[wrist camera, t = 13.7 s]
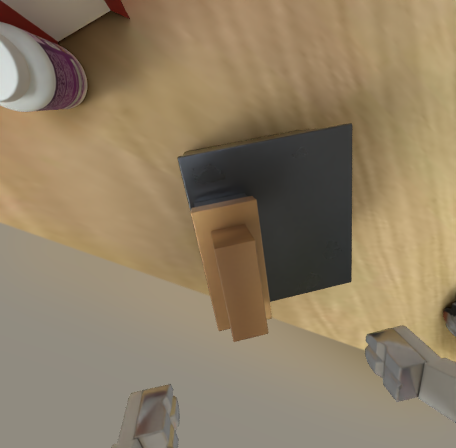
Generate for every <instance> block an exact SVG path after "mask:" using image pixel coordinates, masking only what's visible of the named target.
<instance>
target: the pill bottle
mask: <svg viewBox="0 0 456 448" xmlns="http://www.w3.org/2000/svg"><path fill="white" fill-rule="evenodd" d="M86 93H87V78H86V75H85V72H84V69H83V67H82V65H81V64H80V62H79V61H78V60H77V59H76V58H75V56H74V55H72V54H71V53H70V52H69V51H68V50H66V49H65V48H63V47H61V46H59V45H57V44H55V43H53V42H50V41H48V40H46V39H43V38H41V37H39V36H36V35H34V34H32V33H29V32H27V31H25V30H22V29H20V28H18V27H15V26H13V25H10V24H7V23H3V22H0V105H1V106H3V107H5V108H8V109H11V110H15V111H21V112H32V111H43V110H58V109H70V108H74V107H76V106H77V105H79V104H80V103H81V102H82V101H83V100H84V98H85V96H86Z"/></svg>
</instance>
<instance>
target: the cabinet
mask: <svg viewBox="0 0 456 448" xmlns="http://www.w3.org/2000/svg"><path fill="white" fill-rule="evenodd" d="M178 162H179V166H180V171H181V175H182V179H183V183H184V187H185V191H186V195H187V199H188V203H189V207H190V211H191V208H194V203H197V202H201V201H206V200H211V199H216V198H221V197H226V196H231V195H236V194H241V193H245V194H246V195H247V196H253V197H254V198H255V199H256V200H257V207H258V214H259V222H260V229H261V237H262V245H263V252H264V260H265V267H266V275H267V283H268V290H269V298H270V302H271V301H275V300H279V299H283V298H287V297H291V296H296V295H300V294H304V293H308V292H312V291H316V290H320V289H324V288H328V287H332V286H336V285H341V284H345V283H349V282H351V265H352V123H349V124H343V125H337V126H332V127H327V128H321V129H307V130H295V131H290V132H285V133H280V134H275V135H270V136H264V137H259V138H254V139H249V140H244V141H239V142H234V143H229V144H223V145H218V146H213V147H208V148H203V149H198V150H193V151H188V152H185V153H184V155H183V156H179V157H178Z"/></svg>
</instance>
